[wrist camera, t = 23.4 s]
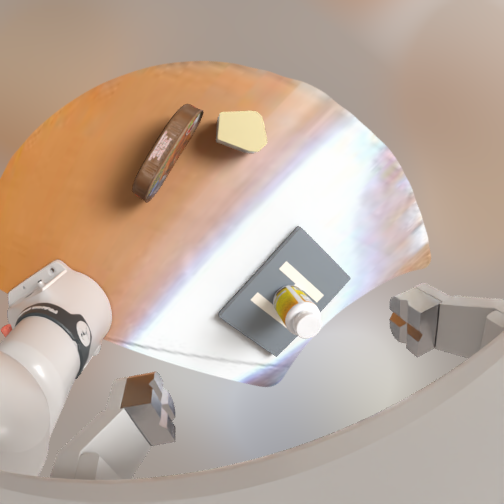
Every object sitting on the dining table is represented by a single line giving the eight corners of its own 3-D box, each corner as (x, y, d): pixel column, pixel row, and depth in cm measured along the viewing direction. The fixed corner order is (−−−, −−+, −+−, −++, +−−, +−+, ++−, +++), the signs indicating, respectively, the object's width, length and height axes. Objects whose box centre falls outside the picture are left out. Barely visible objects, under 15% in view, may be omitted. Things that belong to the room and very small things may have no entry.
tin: (152, 201, 44) (144, 206, 36) (136, 191, 43) (124, 195, 35) (204, 118, 43) (207, 106, 35) (187, 108, 42) (186, 94, 34)
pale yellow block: (203, 160, 45) (204, 158, 39) (208, 105, 42) (210, 96, 37) (266, 165, 47) (276, 164, 41) (270, 111, 44) (280, 104, 39)
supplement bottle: (272, 315, 51) (289, 346, 42) (272, 285, 50) (291, 312, 40) (302, 311, 52) (325, 340, 43) (303, 282, 51) (328, 307, 41)
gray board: (274, 352, 55) (276, 357, 54) (218, 312, 51) (219, 317, 50) (346, 275, 54) (351, 278, 53) (297, 225, 50) (301, 227, 48)
